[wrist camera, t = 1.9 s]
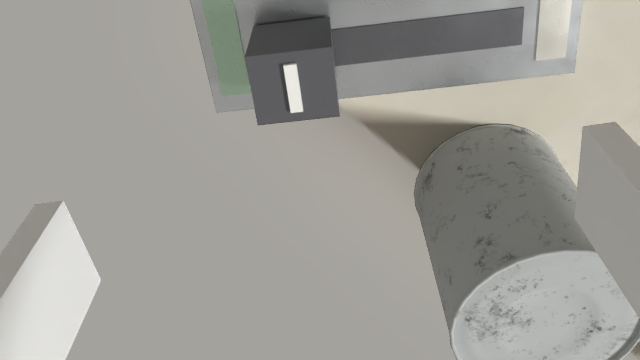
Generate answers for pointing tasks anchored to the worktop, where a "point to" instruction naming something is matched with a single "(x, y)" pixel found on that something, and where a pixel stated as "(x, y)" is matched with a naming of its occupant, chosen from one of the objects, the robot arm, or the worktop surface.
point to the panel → (398, 42)
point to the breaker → (292, 71)
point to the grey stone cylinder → (516, 253)
